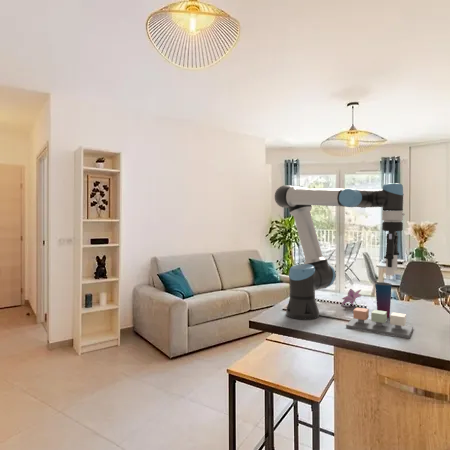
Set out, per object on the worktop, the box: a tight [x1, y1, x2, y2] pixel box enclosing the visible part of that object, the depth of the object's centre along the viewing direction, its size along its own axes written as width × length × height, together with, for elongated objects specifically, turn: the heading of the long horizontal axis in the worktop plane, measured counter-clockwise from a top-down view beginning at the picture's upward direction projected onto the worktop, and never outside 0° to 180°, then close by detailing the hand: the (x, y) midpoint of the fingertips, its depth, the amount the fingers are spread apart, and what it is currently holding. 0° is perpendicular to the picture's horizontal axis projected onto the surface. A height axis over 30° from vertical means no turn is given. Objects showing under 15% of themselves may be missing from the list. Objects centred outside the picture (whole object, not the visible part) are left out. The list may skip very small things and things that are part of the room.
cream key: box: [389, 311, 407, 326], centre depth 131 cm, size 5×5×4 cm
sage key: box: [370, 309, 388, 323], centre depth 135 cm, size 5×5×4 cm
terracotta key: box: [352, 306, 370, 320], centre depth 139 cm, size 5×5×4 cm
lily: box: [340, 288, 362, 308], centre depth 168 cm, size 12×12×10 cm
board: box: [345, 317, 414, 339], centre depth 135 cm, size 23×13×3 cm, turn 55°
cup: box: [374, 281, 393, 319], centre depth 151 cm, size 7×7×15 cm
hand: (391, 272), depth 136 cm, fingers open, 13 cm apart
